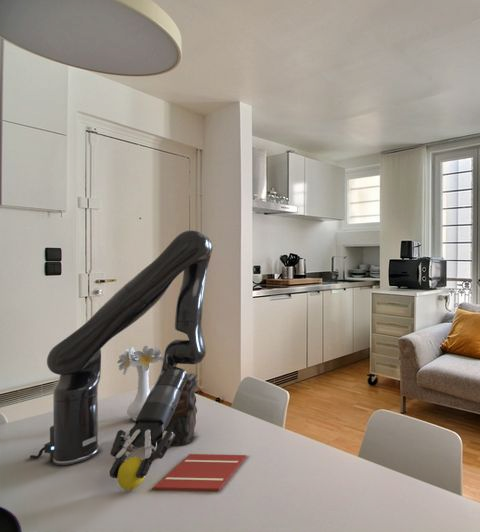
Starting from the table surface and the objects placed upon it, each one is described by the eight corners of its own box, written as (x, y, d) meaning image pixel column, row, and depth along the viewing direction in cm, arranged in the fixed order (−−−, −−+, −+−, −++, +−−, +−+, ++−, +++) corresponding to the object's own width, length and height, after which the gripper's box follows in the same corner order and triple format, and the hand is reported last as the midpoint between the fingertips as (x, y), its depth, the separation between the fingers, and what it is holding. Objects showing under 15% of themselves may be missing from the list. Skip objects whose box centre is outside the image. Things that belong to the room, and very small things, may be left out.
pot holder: (153, 489, 88) (153, 486, 88) (189, 456, 103) (189, 453, 103) (219, 491, 88) (219, 488, 88) (246, 457, 103) (246, 454, 103)
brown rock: (176, 427, 121) (176, 366, 120) (211, 430, 119) (212, 368, 118) (144, 446, 108) (144, 379, 108) (183, 450, 106) (183, 381, 106)
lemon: (131, 499, 85) (130, 464, 85) (111, 495, 86) (110, 462, 86) (151, 484, 90) (151, 452, 90) (133, 481, 91) (132, 449, 91)
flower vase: (143, 406, 137) (142, 339, 136) (177, 415, 130) (177, 344, 129) (103, 420, 125) (103, 347, 124) (138, 430, 118) (138, 353, 117)
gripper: (125, 400, 95) (86, 472, 84) (180, 400, 95) (148, 473, 83) (140, 411, 101) (105, 481, 89) (192, 412, 100) (164, 482, 89)
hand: (126, 477), depth 86 cm, fingers closed on lemon, 5 cm apart
